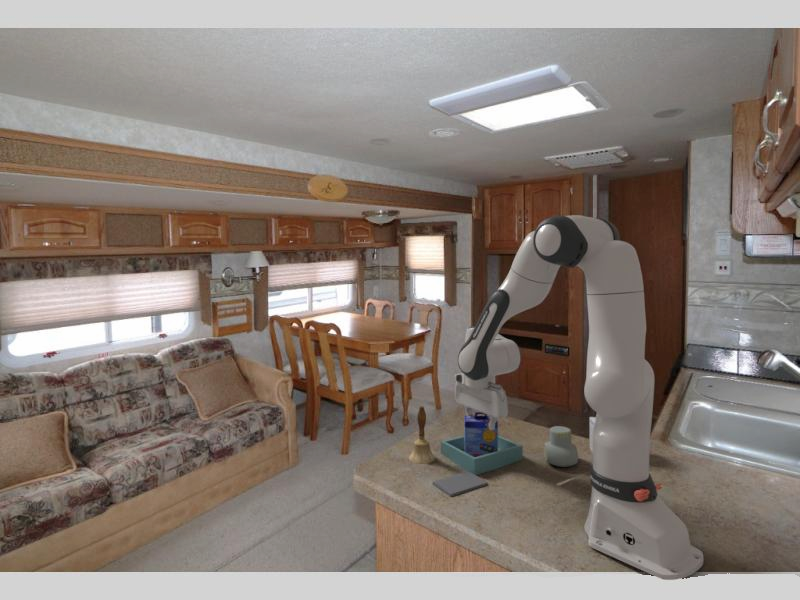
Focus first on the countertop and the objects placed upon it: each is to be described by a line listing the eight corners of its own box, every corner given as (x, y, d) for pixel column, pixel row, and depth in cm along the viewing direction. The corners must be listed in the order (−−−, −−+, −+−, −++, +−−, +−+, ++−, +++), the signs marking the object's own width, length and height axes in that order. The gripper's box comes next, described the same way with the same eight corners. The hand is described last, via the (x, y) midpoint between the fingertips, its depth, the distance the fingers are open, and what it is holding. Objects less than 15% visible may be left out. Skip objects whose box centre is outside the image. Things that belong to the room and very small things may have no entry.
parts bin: (522, 460, 134) (522, 445, 134) (474, 475, 125) (474, 459, 125) (486, 443, 148) (486, 429, 148) (440, 455, 139) (440, 441, 139)
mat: (487, 484, 120) (487, 482, 120) (450, 496, 114) (450, 494, 114) (468, 473, 127) (468, 471, 127) (432, 484, 121) (432, 481, 121)
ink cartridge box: (464, 461, 135) (464, 413, 134) (464, 454, 140) (463, 407, 139) (498, 462, 134) (498, 413, 133) (496, 454, 139) (496, 408, 138)
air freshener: (579, 472, 126) (579, 436, 126) (548, 470, 128) (548, 435, 127) (571, 456, 137) (571, 423, 136) (543, 454, 138) (542, 422, 138)
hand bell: (414, 452, 143) (413, 401, 142) (439, 456, 139) (438, 404, 138) (403, 462, 135) (402, 409, 134) (430, 467, 132) (429, 412, 131)
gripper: (512, 384, 128) (513, 433, 129) (467, 371, 146) (467, 414, 146) (495, 388, 125) (496, 437, 126) (451, 374, 142) (451, 418, 143)
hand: (480, 425), depth 136 cm, fingers closed on ink cartridge box, 8 cm apart
